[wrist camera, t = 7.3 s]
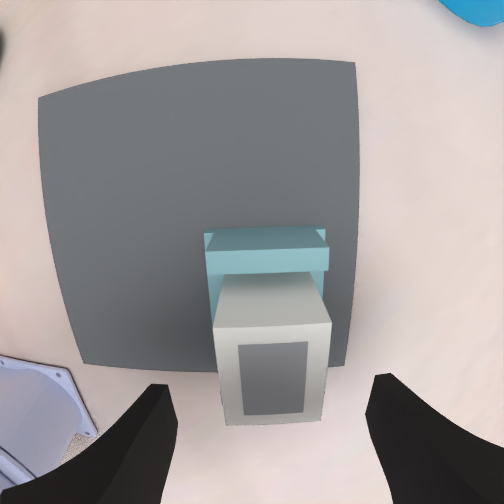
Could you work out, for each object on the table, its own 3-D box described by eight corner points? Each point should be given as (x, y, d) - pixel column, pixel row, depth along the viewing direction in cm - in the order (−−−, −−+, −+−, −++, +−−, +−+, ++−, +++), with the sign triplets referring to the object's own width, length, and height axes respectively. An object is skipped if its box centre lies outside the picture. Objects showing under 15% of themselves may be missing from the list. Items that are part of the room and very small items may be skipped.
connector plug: (233, 347, 18) (226, 426, 12) (226, 265, 16) (212, 328, 10) (303, 344, 18) (320, 421, 12) (305, 262, 16) (332, 323, 10)
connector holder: (219, 363, 19) (212, 405, 15) (206, 229, 16) (192, 252, 13) (315, 359, 19) (326, 400, 15) (322, 225, 16) (341, 247, 13)
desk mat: (86, 359, 20) (83, 363, 19) (42, 98, 14) (38, 98, 14) (342, 361, 20) (344, 365, 19) (352, 64, 14) (355, 62, 14)
